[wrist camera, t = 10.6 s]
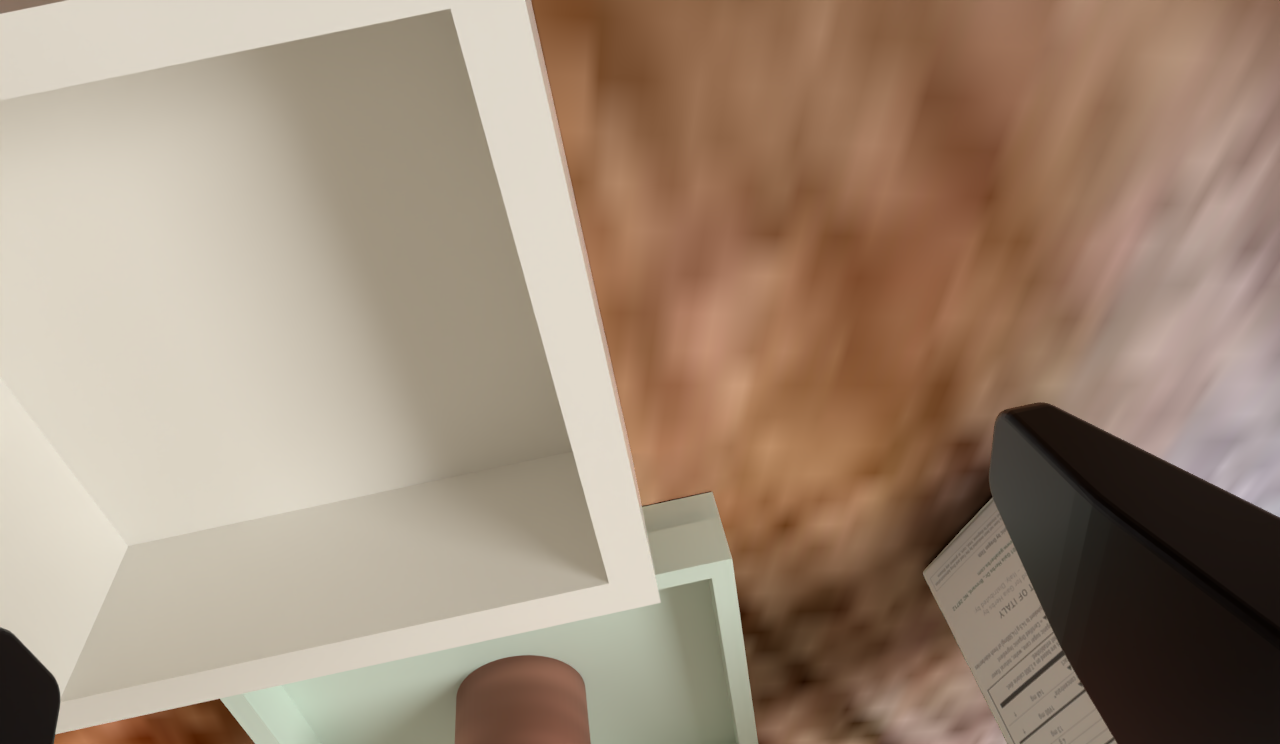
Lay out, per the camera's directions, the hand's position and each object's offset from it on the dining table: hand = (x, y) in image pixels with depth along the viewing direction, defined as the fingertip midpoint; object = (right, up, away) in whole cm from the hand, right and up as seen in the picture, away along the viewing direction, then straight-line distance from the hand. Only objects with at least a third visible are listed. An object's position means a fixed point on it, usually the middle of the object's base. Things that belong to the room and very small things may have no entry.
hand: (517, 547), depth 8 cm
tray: (-3, -8, +20) cm, 22 cm away
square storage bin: (-7, +3, +11) cm, 14 cm away
